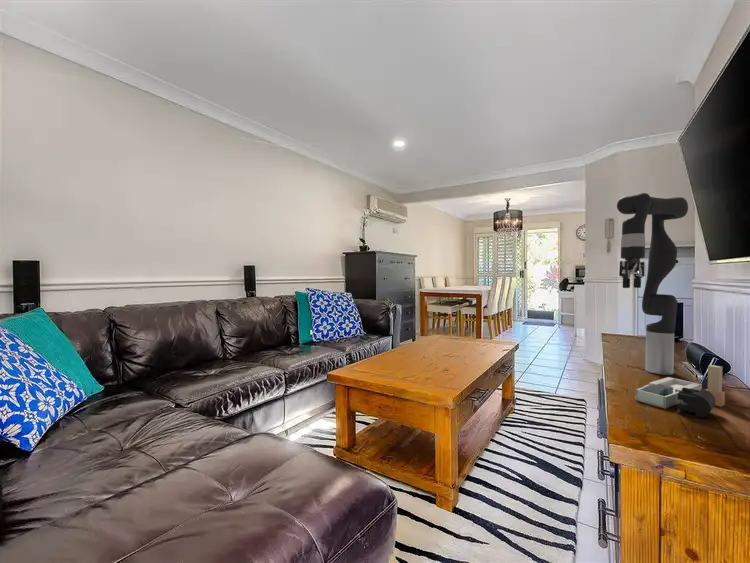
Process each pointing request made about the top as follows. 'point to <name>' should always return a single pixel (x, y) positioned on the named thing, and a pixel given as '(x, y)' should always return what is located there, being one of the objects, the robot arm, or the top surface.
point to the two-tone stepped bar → (716, 384)
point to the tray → (656, 398)
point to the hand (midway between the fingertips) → (631, 287)
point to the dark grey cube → (655, 390)
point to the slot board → (677, 384)
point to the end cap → (695, 402)
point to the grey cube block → (666, 389)
